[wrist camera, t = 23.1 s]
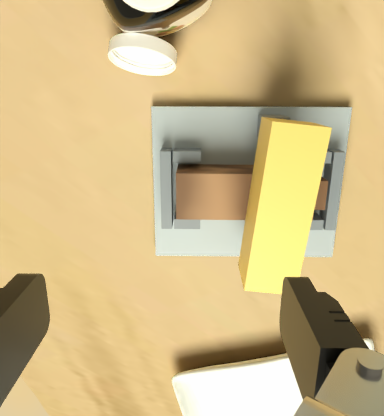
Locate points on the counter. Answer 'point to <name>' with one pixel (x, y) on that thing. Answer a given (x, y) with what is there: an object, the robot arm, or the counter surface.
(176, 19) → the spread jar
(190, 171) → the brown rectangular bar
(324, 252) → the jig
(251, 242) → the yellow rectangular block
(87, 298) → the counter surface
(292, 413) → the square plate
